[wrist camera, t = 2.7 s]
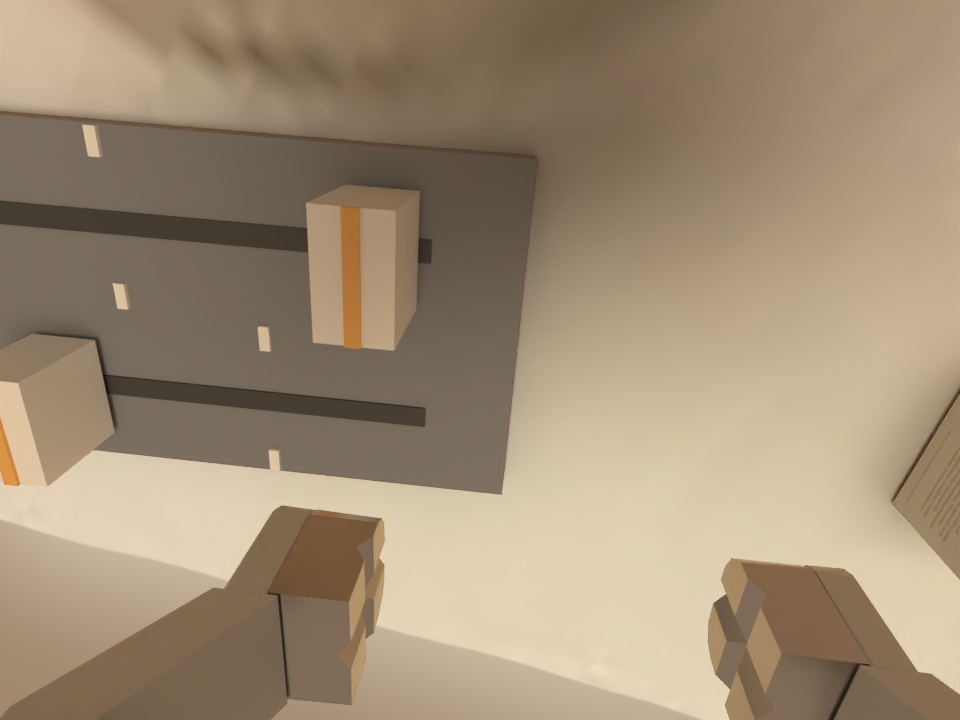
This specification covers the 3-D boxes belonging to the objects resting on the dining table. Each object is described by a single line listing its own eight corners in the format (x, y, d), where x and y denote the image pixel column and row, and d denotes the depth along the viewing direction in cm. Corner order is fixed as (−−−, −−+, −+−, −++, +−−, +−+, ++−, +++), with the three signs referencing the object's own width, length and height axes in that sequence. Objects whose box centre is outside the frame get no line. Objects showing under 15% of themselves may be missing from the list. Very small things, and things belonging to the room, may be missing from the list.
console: (537, 156, 24) (537, 160, 23) (503, 477, 31) (501, 497, 29) (-108, 102, 26) (-150, 102, 24) (-9, 421, 32) (-36, 438, 31)
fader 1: (94, 340, 27) (14, 384, 23) (114, 432, 29) (44, 488, 25) (33, 333, 28) (-58, 376, 23) (56, 426, 30) (-23, 481, 25)
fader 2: (419, 190, 23) (394, 212, 19) (416, 309, 25) (393, 352, 21) (345, 184, 24) (304, 203, 19) (347, 303, 26) (311, 344, 21)
